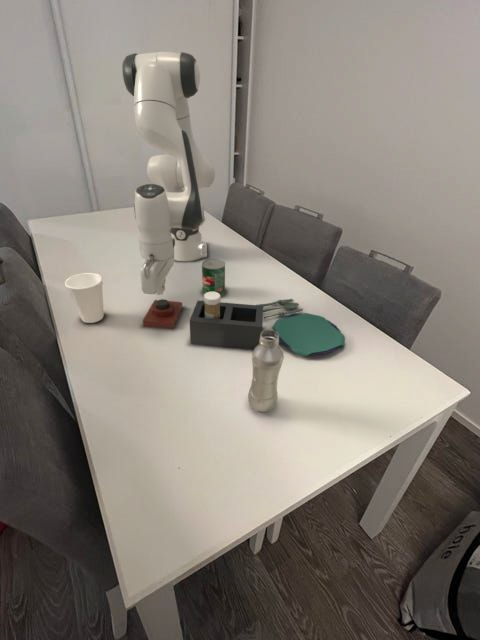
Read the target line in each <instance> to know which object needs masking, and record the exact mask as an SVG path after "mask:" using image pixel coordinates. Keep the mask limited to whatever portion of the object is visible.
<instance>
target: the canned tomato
mask: <svg viewBox="0 0 480 640" xmlns="http://www.w3.org/2000/svg"><path fill="white" fill-rule="evenodd" d="M201 273H202V274H201V278H202V294H203V295H204V294H205V293H207V292H217V293H219V294H220V296H221V297H223V296H224V295H225V293H226V288H225V287H226V263H225V261H224V260H222V259H219V258H208V259H205V260H203V261H202V262H201Z"/></svg>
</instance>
